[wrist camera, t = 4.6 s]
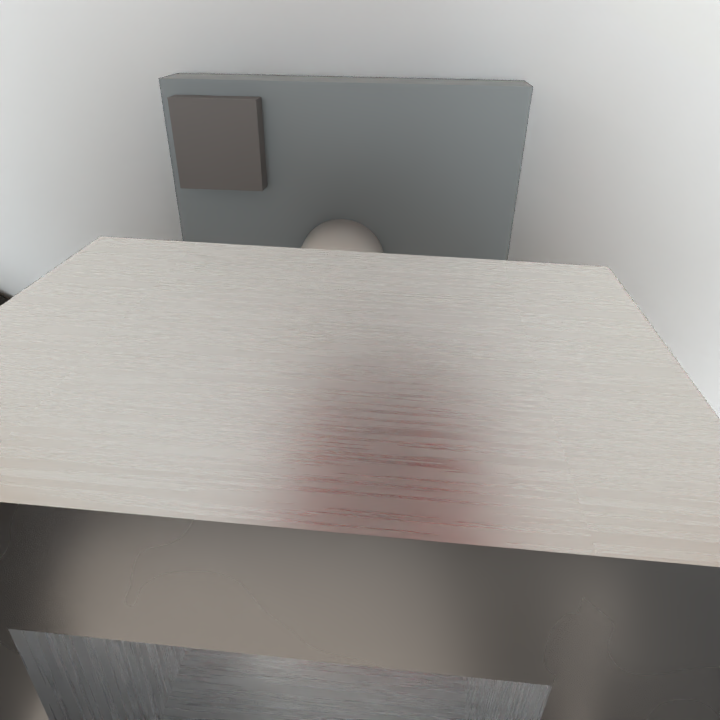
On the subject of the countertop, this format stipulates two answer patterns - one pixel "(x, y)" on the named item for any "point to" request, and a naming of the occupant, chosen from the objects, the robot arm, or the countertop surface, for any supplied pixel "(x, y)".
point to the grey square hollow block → (350, 492)
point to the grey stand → (347, 161)
